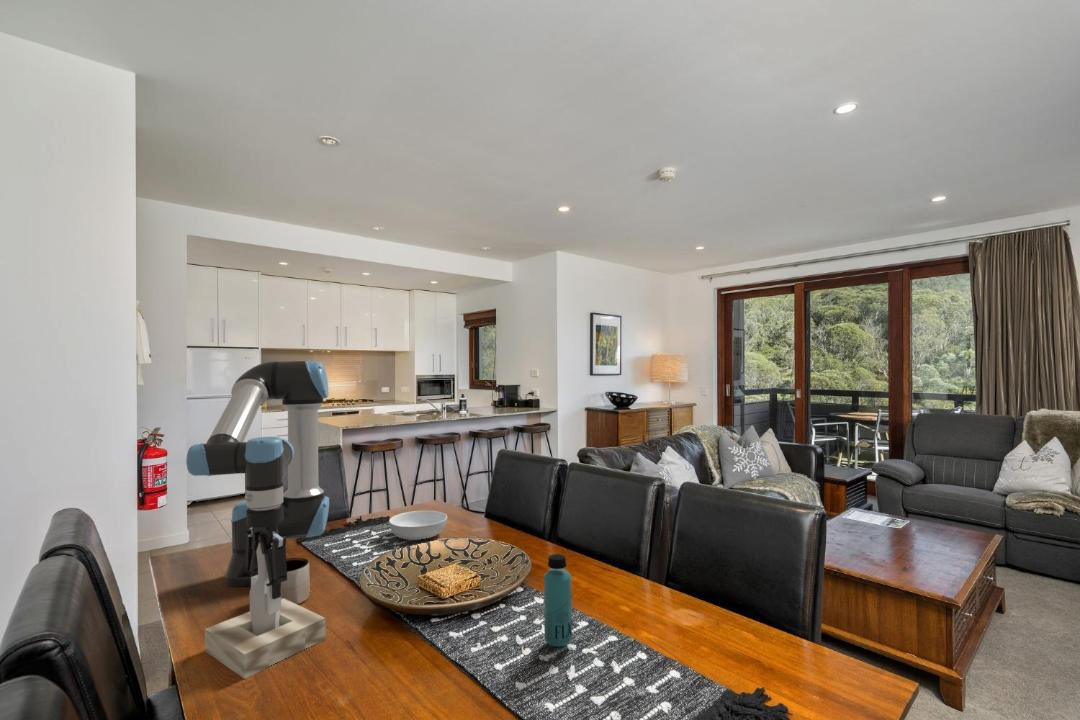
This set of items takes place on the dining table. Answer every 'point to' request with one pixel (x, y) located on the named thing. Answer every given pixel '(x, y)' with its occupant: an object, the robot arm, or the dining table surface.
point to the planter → (296, 581)
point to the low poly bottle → (261, 600)
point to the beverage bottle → (557, 602)
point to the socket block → (264, 639)
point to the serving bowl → (418, 524)
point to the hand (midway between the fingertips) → (266, 607)
